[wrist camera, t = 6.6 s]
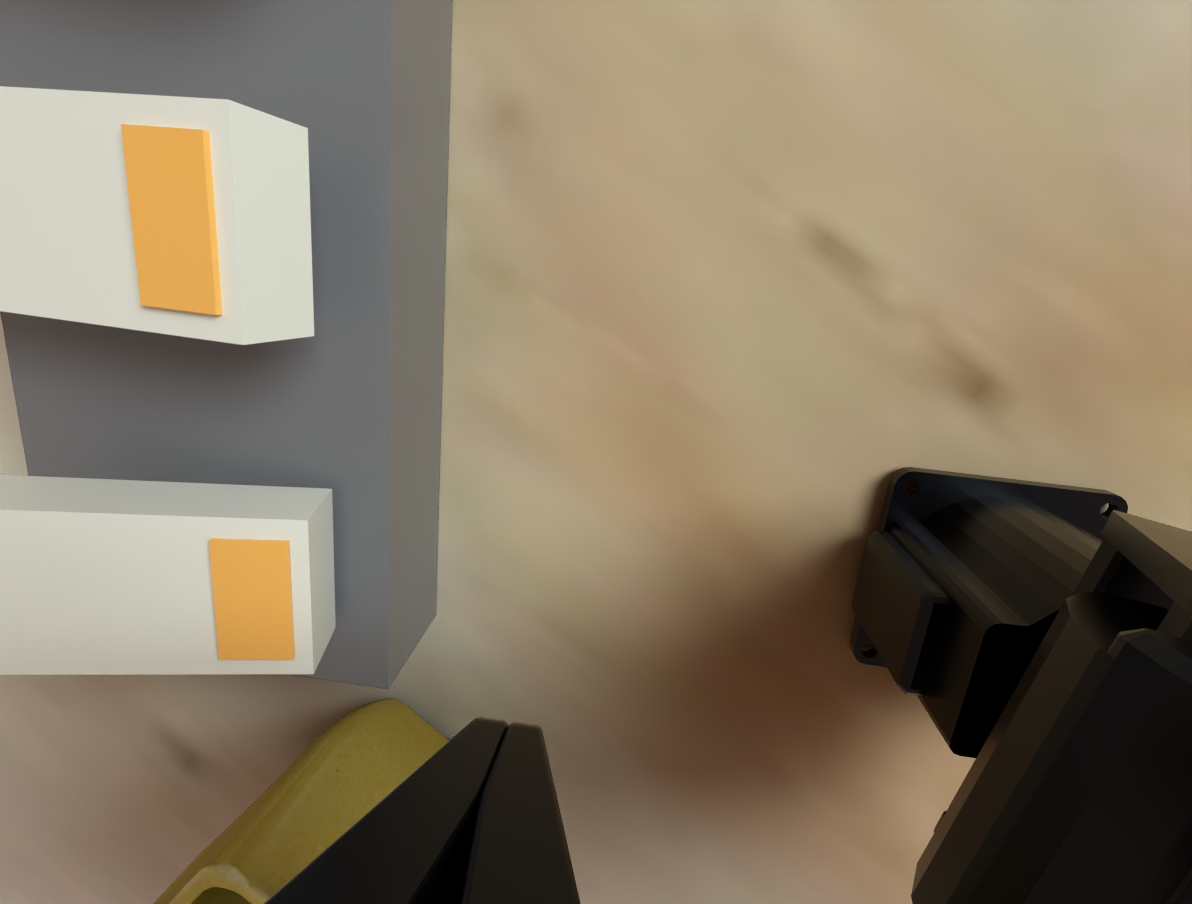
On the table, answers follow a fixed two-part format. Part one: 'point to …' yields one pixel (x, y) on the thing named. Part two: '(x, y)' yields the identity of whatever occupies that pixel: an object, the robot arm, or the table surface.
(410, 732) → the flower pot
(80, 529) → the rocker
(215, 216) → the block
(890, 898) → the table surface
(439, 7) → the power strip
